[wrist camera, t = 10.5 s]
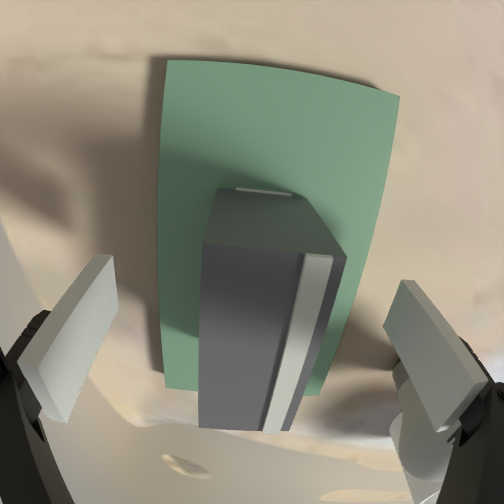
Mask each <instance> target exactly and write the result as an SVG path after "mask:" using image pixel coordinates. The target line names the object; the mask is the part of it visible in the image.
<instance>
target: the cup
mask: <svg viewBox="0 0 504 504" xmlns="http://www.w3.org/2000/svg"><path fill="white" fill-rule="evenodd" d="M401 426H402V412H401V413H400V414H399V415H398V416H397V417H396V418H395V419H394V420H393V422H392V423H391V425H390V427H389V432H390V435H391V438H392V441H393V443H394V446H395V449H396V451H397V454H398V457H399V450H398V445H399V438H400V431H401ZM399 460H400V457H399ZM400 462H401V460H400ZM401 465H402V463H401ZM402 468H403V471H404V474H405V477H406V480H407V482H408V485H409V488H410V491H411V494H412V497H413V500H414V503H415V504H436V501H437V499H438V496H439V493H440V490H441V487H442V484H443V481H439V482H426V481H423V480H420V479H417V478H415V477H414V476H412V475H410V474H409V473H408V472H407V471H406V469H405V468H404V466H403V465H402Z"/></svg>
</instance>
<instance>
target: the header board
mask: <svg viewBox="0 0 504 504" xmlns="http://www.w3.org/2000/svg"><path fill="white" fill-rule="evenodd" d="M399 99H400V96H398V95H395V94H391V93H388V92H385V91H381V90H378V89H374V88H371V87H367V86H364V85H360V84H356V83H352V82H348V81H344V80H339V79H335V78H331V77H326V76H321V75H316V74H311V73H306V72H300V71H294V70H288V69H282V68H275V67H267V66H259V65H251V64H241V63H229V62H215V61H192V60H168V62H167V70H166V78H165V87H164V97H163V107H162V119H161V132H160V147H159V165H158V192H157V268H158V296H159V314H160V330H161V343H162V355H163V365H164V375H165V384H166V388H173V389H182V390H191V391H198V358H199V310H200V282H201V260H202V243H203V239H204V235H205V232H206V228H207V224H208V220H209V216H210V213H211V209H212V205H213V202H214V198H215V195H216V191H217V188H219V189H230V190H240V191H250V192H260V193H269V194H278V195H286V196H295V197H303V198H307V199H308V201H309V202H310V203H311V205H312V206H313V208H314V209H315V210H316V212H317V213H318V215H319V216H320V217H321V219H322V220H323V222H324V223H325V225H326V226H327V228H328V229H329V230H330V232H331V233H332V235H333V236H334V238H335V239H336V241H337V242H338V244H339V245H340V247H341V248H342V250H343V251H344V253H345V254H346V256H347V260H346V264H345V268H344V271H343V275H342V278H341V282H340V286H339V289H338V292H337V296H336V299H335V303H334V306H333V309H332V312H331V316H330V319H329V322H328V325H327V328H326V331H325V334H324V337H323V340H322V343H321V346H320V349H319V352H318V355H317V358H316V361H315V364H314V367H313V370H312V372H311V375H310V378H309V381H308V383H307V386H306V389H305V391H304V394H303V396H312V395H319V393H320V391H321V388H322V386H323V384H324V381H325V379H326V376H327V374H328V371H329V369H330V366H331V363H332V361H333V358H334V355H335V353H336V350H337V347H338V345H339V342H340V339H341V336H342V334H343V331H344V328H345V325H346V322H347V319H348V316H349V313H350V310H351V307H352V304H353V301H354V298H355V295H356V292H357V288H358V285H359V282H360V279H361V275H362V272H363V269H364V265H365V262H366V258H367V254H368V251H369V247H370V244H371V240H372V236H373V232H374V228H375V224H376V220H377V216H378V212H379V208H380V204H381V199H382V195H383V190H384V186H385V181H386V176H387V171H388V166H389V161H390V156H391V150H392V145H393V139H394V133H395V127H396V120H397V114H398V107H399Z"/></svg>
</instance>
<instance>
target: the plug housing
mask: <svg viewBox="0 0 504 504" xmlns="http://www.w3.org/2000/svg"><path fill="white" fill-rule="evenodd" d="M346 260H347V256H346V254H345V253H344V251H343V250H342V248H341V247H340V245H339V244H338V242H337V241H336V239H335V238H334V236H333V235H332V233H331V232H330V230H329V229H328V228H327V226H326V225H325V223H324V222H323V220H322V219H321V217H320V216H319V215H318V213H317V212H316V210H315V209H314V208H313V206H312V205H311V203H310V202H309V201H308V199H307V198H303V197H295V196H286V195H278V194H269V193H260V192H250V191H240V190H230V189H219V188H217V191H216V195H215V198H214V202H213V205H212V209H211V213H210V216H209V220H208V224H207V228H206V232H205V235H204V239H203V243H202V260H201V282H200V310H199V358H198V412H199V427H200V428H211V429H225V430H245V431H262V434H279V433H280V431H289V429H290V427H291V425H292V422H293V420H294V417H295V415H296V412H297V410H298V407H299V404H300V402H301V399H302V397H303V394H304V391H305V389H306V386H307V383H308V381H309V378H310V375H311V372H312V370H313V367H314V364H315V361H316V358H317V355H318V352H319V349H320V346H321V343H322V340H323V337H324V334H325V331H326V328H327V325H328V322H329V319H330V316H331V312H332V309H333V306H334V303H335V299H336V296H337V292H338V289H339V286H340V282H341V278H342V275H343V271H344V268H345V264H346Z"/></svg>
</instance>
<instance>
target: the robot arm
mask: <svg viewBox="0 0 504 504" xmlns="http://www.w3.org/2000/svg"><path fill="white" fill-rule="evenodd" d="M118 309H119V303H118V295H117V287H116V279H115V270H114V260H113V255H109V254H100V253H97V254H96V255H95V256H94V258H93V259H92V260H91V261H90V262H89V264H88V265H87V266H86V267H85V268H84V270H83V271H82V272H81V273H80V275H79V276H78V277H77V278H76V280H75V281H74V282H73V283H72V285H71V286H70V287H69V289H68V290H67V291H66V292H65V294H64V295H63V296H62V298H61V299H60V300H59V302H58V303H57V304H56V306H55V307H54V308H53V310H52V311H47V310H43V311H42V312H40V313H39V314H37V315H36V316H34V317H33V318H32V320H31V321H30V322H29V324H28V325H27V328H25V329H24V331H23V332H22V333H21V336H19V338H18V339H17V340H16V342H15V343H14V345H13V346H12V348H11V349H10V350H9V352H8V353H7V355H6V356H4V354H3V352H2V349H1V347H0V497H1V499H2V502H3V504H75V503H74V501H73V499H72V497H71V495H70V493H69V491H68V489H67V487H66V485H65V482H64V480H63V478H62V476H61V473H60V471H59V469H58V466H57V464H56V462H55V459H54V457H53V454H52V451H51V449H50V446H49V443H48V441H47V438H46V435H45V432H44V429H43V426H42V423H41V421H40V419H39V417H38V415H39V413H40V410H41V409H43V411H44V413H45V414H46V416H47V417H48V418H49V419H52V420H55V421H58V422H62V423H65V424H67V422H68V419H69V417H70V414H71V412H72V409H73V407H74V404H75V401H76V399H77V397H78V395H79V392H80V390H81V388H82V385H83V383H84V381H85V378H86V376H87V374H88V372H89V369H90V367H91V365H92V363H93V361H94V359H95V356H96V354H97V352H98V350H99V348H100V346H101V344H102V342H103V339H104V337H105V335H106V333H107V331H108V329H109V327H110V325H111V323H112V321H113V319H114V317H115V315H116V313H117V311H118ZM383 328H384V329H385V331H386V333H387V335H388V337H389V339H390V340H391V342H392V344H393V346H394V348H395V350H396V352H397V354H398V356H399V357H400V359H401V361H402V363H403V365H404V367H405V369H406V371H407V373H408V375H409V377H410V379H411V381H412V383H413V385H414V387H415V389H416V391H417V393H418V395H419V397H420V399H421V401H422V404H423V406H424V408H425V410H426V412H427V414H428V416H429V418H430V421H431V423H432V425H433V427H434V429H435V432H440V431H444V430H447V429H450V428H451V427H452V426H453V425H454V424H455V423H456V421H457V420H458V419H459V421H460V423H461V425H460V426H459V428H458V429H457V430H456V431H455V432H454V433H453V434H452V435H451V436H450V437H449V438H448V440H447V443H449V442H450V441H451V440H452V439H453V438H455V441H454V442H453V443H452V445H453V449H452V453H451V457H450V460H449V464H448V468H447V471H446V474H445V478H444V481H443V484H442V487H441V490H440V493H439V496H438V499H437V501H436V504H504V383H502V382H497V383H495V382H494V381H493V379H492V378H491V376H490V375H489V373H488V372H487V370H486V369H485V367H484V366H483V364H482V363H481V361H480V360H478V357H477V356H476V354H475V353H473V350H472V349H471V347H470V346H469V345H468V343H467V342H465V341H464V340H463V339H462V338H461V337H459V336H458V335H457V334H456V333H455V331H454V330H453V329H452V327H451V326H450V325H449V323H448V322H447V321H446V319H445V318H444V317H443V316H442V314H441V313H440V312H439V310H438V309H437V308H436V307H435V305H434V304H433V303H432V302H431V300H430V299H429V298H428V297H427V295H426V294H425V293H424V292H423V290H422V289H421V288H420V287H419V286H418V284H417V283H416V282H415V281H414V280H401V282H400V285H399V287H398V290H397V293H396V295H395V298H394V300H393V303H392V305H391V308H390V310H389V313H388V315H387V318H386V320H385V323H384V325H383Z"/></svg>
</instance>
